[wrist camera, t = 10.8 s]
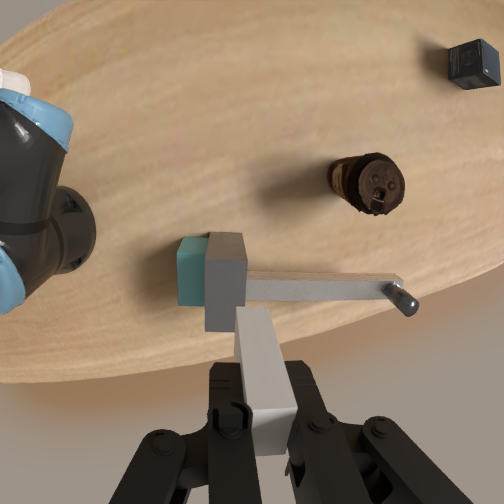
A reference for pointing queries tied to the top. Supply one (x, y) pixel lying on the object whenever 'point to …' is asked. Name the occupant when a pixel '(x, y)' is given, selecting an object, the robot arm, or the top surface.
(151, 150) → the top surface
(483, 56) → the box
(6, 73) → the cup
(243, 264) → the bearing block
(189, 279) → the spacer
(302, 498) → the robot arm
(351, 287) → the shaft
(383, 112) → the top surface
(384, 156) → the coffee cup
